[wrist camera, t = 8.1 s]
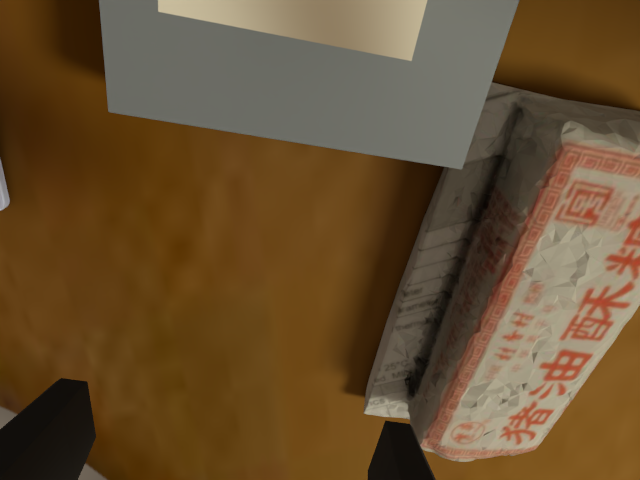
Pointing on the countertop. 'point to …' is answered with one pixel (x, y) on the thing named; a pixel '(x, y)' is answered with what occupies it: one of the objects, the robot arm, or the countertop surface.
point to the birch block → (318, 20)
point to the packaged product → (514, 277)
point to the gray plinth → (310, 80)
